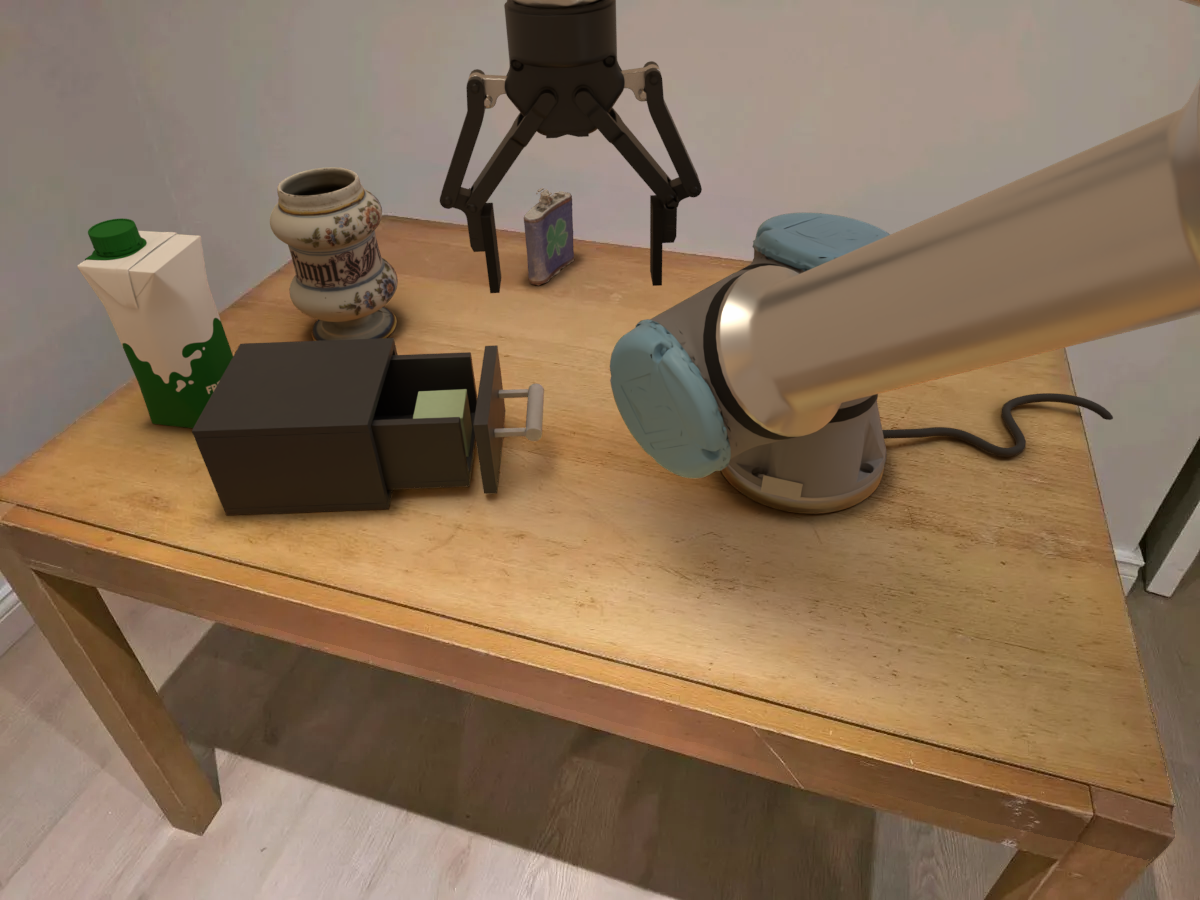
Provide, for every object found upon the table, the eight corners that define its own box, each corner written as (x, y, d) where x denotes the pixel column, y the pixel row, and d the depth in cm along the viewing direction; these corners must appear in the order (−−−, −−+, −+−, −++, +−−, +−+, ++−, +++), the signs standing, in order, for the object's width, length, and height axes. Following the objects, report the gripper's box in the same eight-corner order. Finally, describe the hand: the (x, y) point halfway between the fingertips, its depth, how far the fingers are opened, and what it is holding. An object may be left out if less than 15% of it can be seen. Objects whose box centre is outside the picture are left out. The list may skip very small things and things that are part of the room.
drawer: (547, 409, 87) (542, 343, 83) (544, 491, 78) (538, 422, 73) (371, 416, 87) (355, 350, 83) (346, 499, 78) (326, 430, 73)
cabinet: (410, 418, 88) (394, 337, 82) (388, 509, 78) (367, 424, 72) (267, 423, 88) (240, 343, 82) (225, 515, 78) (191, 431, 72)
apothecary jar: (341, 296, 109) (306, 154, 97) (424, 312, 105) (398, 166, 94) (280, 346, 100) (234, 195, 89) (369, 364, 96) (333, 210, 85)
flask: (541, 287, 109) (534, 206, 102) (521, 282, 110) (513, 201, 104) (579, 257, 115) (575, 178, 108) (560, 253, 116) (555, 175, 110)
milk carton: (187, 380, 95) (118, 206, 82) (262, 388, 93) (204, 211, 81) (138, 428, 88) (55, 247, 76) (219, 438, 87) (148, 254, 74)
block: (472, 427, 84) (466, 388, 81) (468, 456, 80) (462, 417, 77) (425, 429, 84) (418, 391, 81) (420, 459, 80) (412, 420, 77)
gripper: (734, -27, 61) (719, 254, 74) (384, -11, 61) (431, 267, 74) (753, -4, 55) (732, 296, 69) (365, 14, 55) (420, 311, 68)
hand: (575, 282), depth 71 cm, fingers open, 12 cm apart
